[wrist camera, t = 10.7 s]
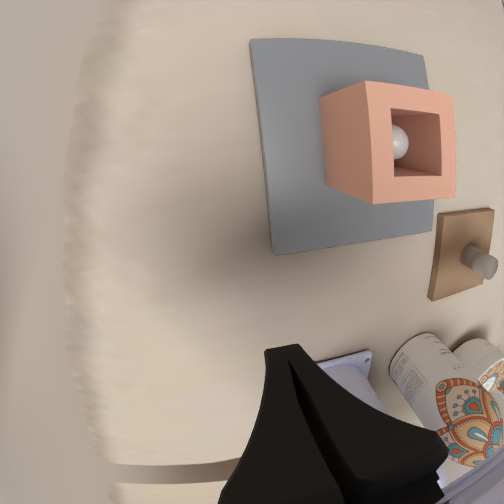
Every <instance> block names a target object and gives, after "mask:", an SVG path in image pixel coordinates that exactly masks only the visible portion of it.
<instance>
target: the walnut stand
mask: <svg viewBox="0 0 504 504" xmlns="http://www.w3.org/2000/svg"><path fill="white" fill-rule="evenodd" d="M494 211H495V210H493V209H490V208H486V209H478V210H469V211H461V212H453V213H444V214H438V220H437V232H436V243H435V252H434V260H433V267H432V274H431V280H430V286H429V292H428V298H429V299H430V300H431V301H435V300H438V299H441V298H444V297H447V296H450V295H453V294H456V293H459V292H462V291H464V290H467V289H470V288H473V287H475V286H478V285H481V284H483V280H484V278H486V279H487V280H489V279H491V278H492V277H493V276H494V275H495V273H496V271H497V267H498V260H497V259H496V258H495V257H493V256H491V255H489V249H490V243H491V236H492V229H493V221H494Z"/></svg>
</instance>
